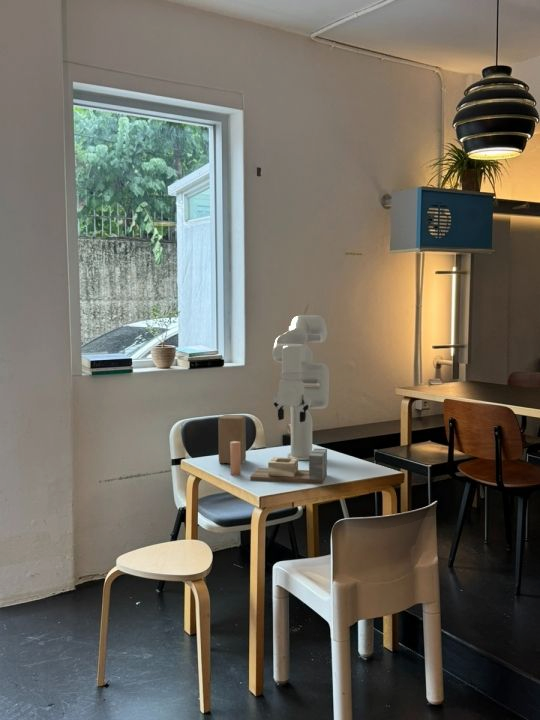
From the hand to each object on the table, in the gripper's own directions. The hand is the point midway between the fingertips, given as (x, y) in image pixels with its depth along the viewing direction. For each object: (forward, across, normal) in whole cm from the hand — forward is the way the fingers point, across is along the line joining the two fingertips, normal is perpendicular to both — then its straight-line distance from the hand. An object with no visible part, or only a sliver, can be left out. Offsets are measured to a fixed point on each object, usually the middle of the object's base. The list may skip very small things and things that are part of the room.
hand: (291, 420), depth 270 cm
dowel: (+23, -22, -7) cm, 32 cm away
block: (+23, -36, +10) cm, 44 cm away
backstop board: (+23, -1, 0) cm, 23 cm away
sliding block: (+21, -3, -1) cm, 21 cm away
